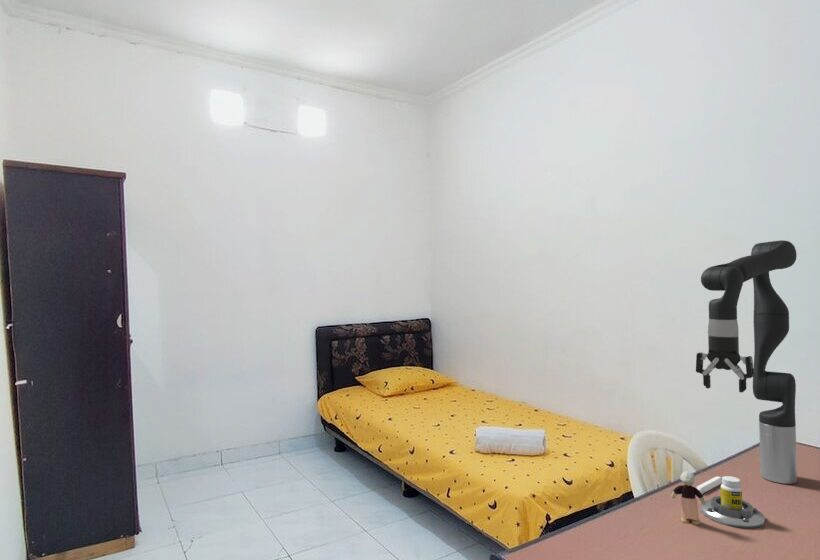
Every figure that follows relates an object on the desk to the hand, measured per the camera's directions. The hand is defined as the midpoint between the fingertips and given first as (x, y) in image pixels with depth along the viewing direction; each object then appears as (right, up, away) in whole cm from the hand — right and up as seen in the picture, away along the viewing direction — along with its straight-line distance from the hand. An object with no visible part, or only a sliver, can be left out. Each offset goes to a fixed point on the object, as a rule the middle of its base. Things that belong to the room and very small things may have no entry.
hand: (724, 390), depth 144 cm
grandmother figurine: (-20, -30, -17) cm, 40 cm away
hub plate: (-7, -30, -14) cm, 34 cm away
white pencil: (-3, -31, +3) cm, 31 cm away
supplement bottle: (-7, -29, -14) cm, 33 cm away
